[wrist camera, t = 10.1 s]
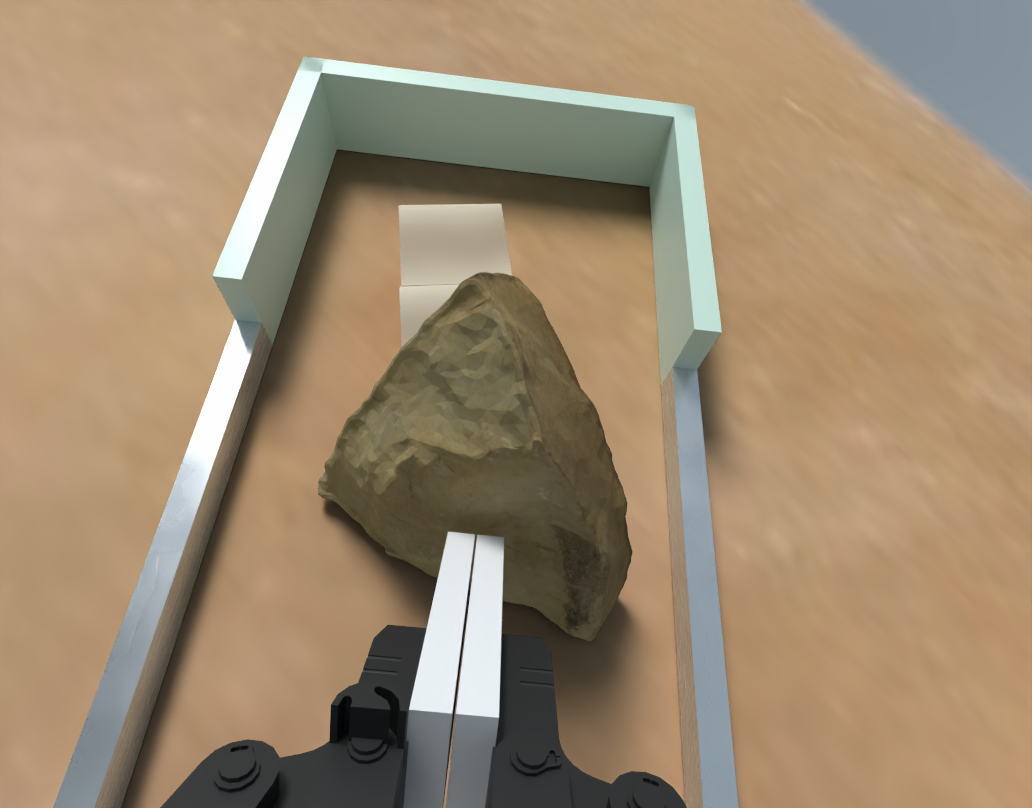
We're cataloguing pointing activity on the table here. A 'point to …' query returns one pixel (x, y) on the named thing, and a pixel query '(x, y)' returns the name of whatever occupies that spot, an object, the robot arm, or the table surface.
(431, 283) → the beige cube
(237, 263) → the tray pen
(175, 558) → the slot rails
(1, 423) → the table surface
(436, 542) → the rock
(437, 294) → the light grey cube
